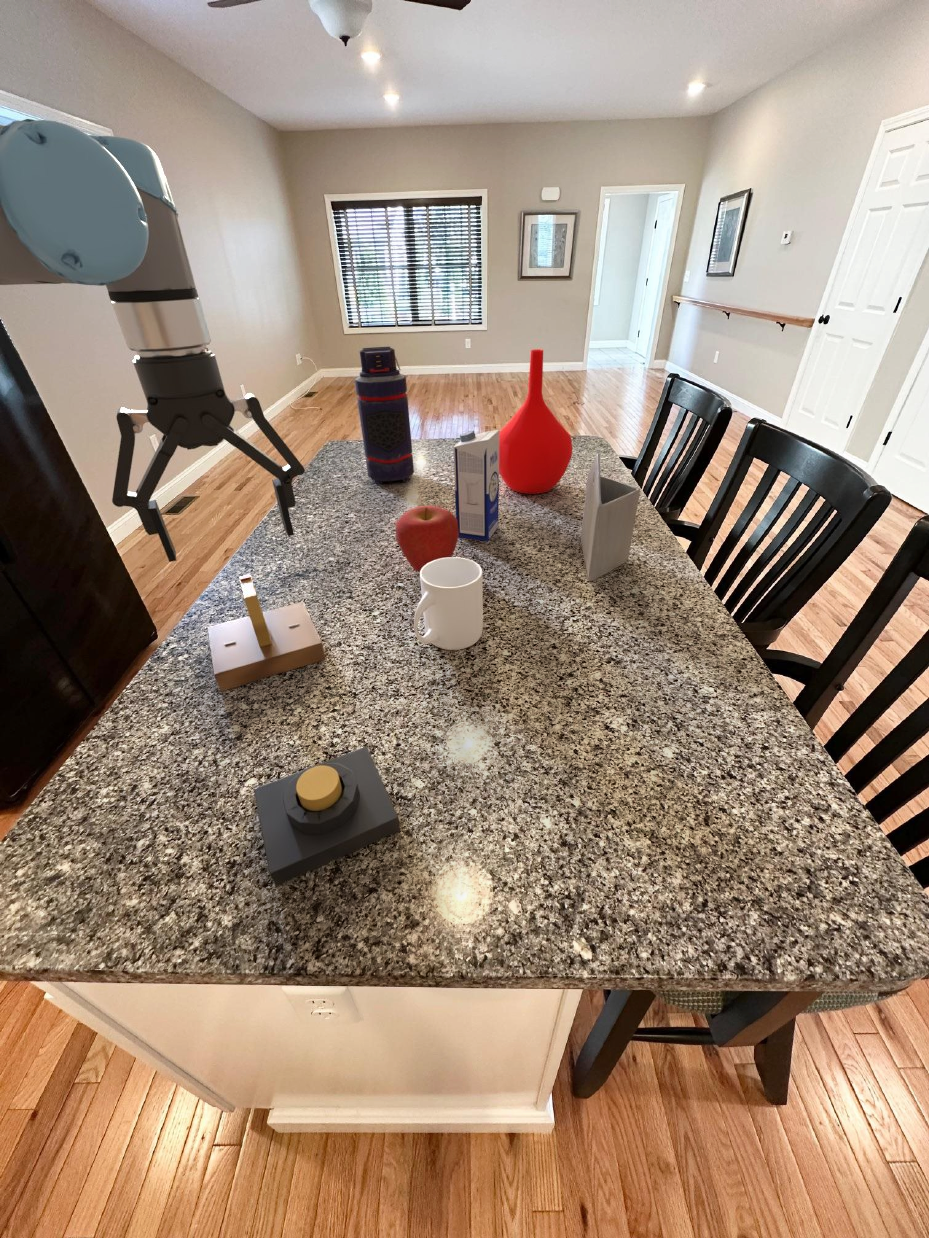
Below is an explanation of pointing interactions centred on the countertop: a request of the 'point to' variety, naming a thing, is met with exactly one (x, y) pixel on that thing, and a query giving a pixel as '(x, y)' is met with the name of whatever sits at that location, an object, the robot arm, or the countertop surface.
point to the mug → (451, 603)
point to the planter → (607, 522)
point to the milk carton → (477, 484)
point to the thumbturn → (254, 610)
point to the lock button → (319, 788)
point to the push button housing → (324, 818)
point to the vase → (534, 441)
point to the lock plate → (247, 661)
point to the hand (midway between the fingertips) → (233, 544)
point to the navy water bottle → (384, 416)
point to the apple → (426, 535)
